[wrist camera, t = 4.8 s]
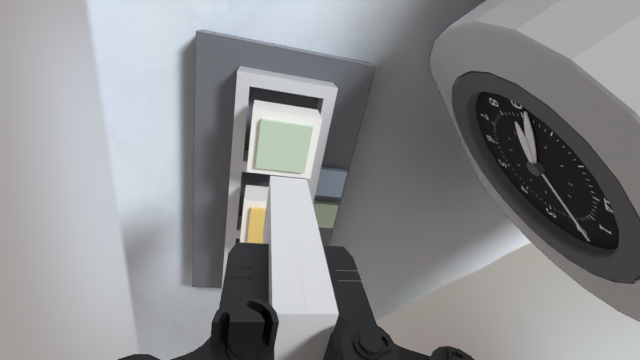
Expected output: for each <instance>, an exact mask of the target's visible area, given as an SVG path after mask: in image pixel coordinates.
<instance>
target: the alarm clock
mask: <svg viewBox="0 0 640 360" xmlns="http://www.w3.org/2000/svg"><path fill="white" fill-rule="evenodd" d="M430 70H431V74H432V76H433V78H434V80H435V83H436V85H437V87H438V89H439V92H440V94H441V96H442V98H443V101H444V103H445V105H446V107H447V110H448V112H449V114H450V116H451V119H452V121H453V123H454V125H455V128H456V130H457V132H458V134H459V137H460V139H461V141H462V143H463V146H464V148H465V150H466V153H467V155H468V157H469V159H470V162H471V164H472V166H473V168H474V171H475V173H476V175H477V177H478V180H479V181H480V183H481V184H482V185H483V187H484V188H485V190H486V191H487V192H488V194H489V195H490V196H491V197H492V199H493V200H494V201H495V202H496V203H497V205H498V206H499V207H500V208H501V210H502V211H503V212H504V213H505V214H506V216H507V217H508V218H509V219H510V220H511V221H512V222H513V223H514V224H515V225H516V227H517V228H518V229H519V230H520V231H521V232H522V233H523V234H524V235H525V236H526V237H527V238H528V239H529V241H531V242H532V243H533V244H534V245H535V246H536V247H537V248H538V249H539V250H540V251H541V252H542V253H543V254H544V255H545V256H547V257H548V258H549V259H550V260H551V261H552V262H553V263H554V264H555V265H556V266H557V267H559V268H560V269H561V270H562V271H564V272H565V273H566V274H567V275H568V276H570V277H571V278H572V279H573V280H575V281H576V282H577V283H578V284H580V285H581V286H582V287H583V288H584V289H586V290H587V291H589V292H590V293H592V294H593V295H595V296H596V297H598V298H599V299H601V300H602V301H604V302H605V303H607V304H608V305H610V306H611V307H613V308H614V309H616V310H617V311H619V312H621V313H623V314H625V315H627V316H629V317H631V318H633V319H635V320H637V321H639V322H640V0H486V1H484V2H483V3H482V4H480V5H479V6H477V7H476V8H474V9H473V10H471V11H470V12H469V13H467V14H466V15H464V16H463V17H461V18H460V19H459V20H457V21H456V22H454V23H453V24H451V25H450V26H449V27H448V28H447V29H446V30H445V31H444V32H443V33H442V34H441V35H440V36H439V37H438V38H437V39H436V40H435V42H434V46H433V49H432V53H431V56H430Z"/></svg>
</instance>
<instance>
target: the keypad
mask: <svg viewBox="0 0 640 360" xmlns="http://www.w3.org/2000/svg"><path fill="white" fill-rule="evenodd" d="M374 70H375V66H374V65H372V64H370V63H368V62H363V61H358V60H353V59H348V58H343V57H338V56H333V55H328V54H323V53H318V52H313V51H308V50H302V49H297V48H292V47H287V46H282V45H277V44H272V43H267V42H262V41H257V40H252V39H247V38H242V37H237V36H232V35H227V34H222V33H217V32H212V31H207V30H198V31H196V63H195V136H194V209H193V283H192V287H212V288H222V289H223V282H224V276H225V270H226V264H227V258H228V253H229V252H230V250H231V249H232V248H233V247H234V245H235V244H236V243H237V242H240V235H241V224H242V214H243V204H244V196H245V189H246V185H253V186H263V187H269V182H270V176H278V175H269V174H259V173H250V172H247V163H248V153H249V143H250V133H251V122H252V112H253V105H254V100H259V101H265V102H272V103H278V104H284V105H291V106H297V107H303V108H310V109H316V110H318V111H319V113H320V115H321V117H322V123H321V128H320V133H319V138H318V143H317V148H316V153H315V158H314V163H313V168H312V173H311V178H310V179H307V182H308V186H309V190H310V195H311V199H312V203H313V207H314V212H315V216H316V220H317V224H318V228H319V233H320V237H321V241H322V245H323V246H329V243H330V239H331V236H332V232H333V228H334V224H335V220H336V216H337V212H338V209H339V205H340V201H341V197H342V193H343V189H344V186H345V182H346V178H347V174H348V170H349V166H350V163H351V159H352V155H353V151H354V147H355V143H356V139H357V136H358V132H359V128H360V124H361V120H362V116H363V113H364V109H365V105H366V101H367V97H368V93H369V90H370V86H371V82H372V78H373V74H374ZM278 177H287V176H278ZM288 178H296V177H288ZM298 179H306V178H298Z"/></svg>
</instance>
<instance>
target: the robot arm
mask: <svg viewBox="0 0 640 360" xmlns="http://www.w3.org/2000/svg"><path fill="white" fill-rule="evenodd" d="M118 360H160V359H158V358H156V357H154V356H151V355H149V354H134V355H131V356H127V357H124V358H121V359H118ZM171 360H474V359H473V358H472V357H471V356H470V355H468V354H466V353H464V352H463V351H461V350H460V349H456V348H453V347H450V346H445V347H439V348H438V349H436V350H435V351H433V353H432V355H431V357H430V356H427V355H424V354H421V353H417V352H414V351H411V350H408V349H405V348H402V347H400V346H398V345H396V344H394V343H393V341H392V339H391V338H390V336H389V335H388V334H387V333H386V332H385V331H384V330H383V329H382V328H380V327H379V326H377V324H376V322H375V319H374V316H373V313H372V310H371V307H370V305H369V302H368V299H367V296H366V293H365V290H364V288H363V285H362V282H361V279H360V276H359V273H358V272H357V268H356V265H355V262H354V259H353V257H352V256H351V255H350V254H349V252H348V251H347V250H346V249H345V248H344V247H336V246H323V245H322V241H321V237H320V233H319V228H318V224H317V220H316V216H315V212H314V207H313V203H312V199H311V195H310V190H309V186H308V182H307V179H298V178H288V177H278V176H270V182H269V189H268V197H267V204H266V212H265V220H264V227H263V244H261V243H243V242H237V243H236V244H235V245H234V247H233V248H232V249H231V250H230V252H229V253H228V258H227V264H226V270H225V276H224V282H223V289H222V295H221V301H220V307H219V309H218V310H217V311H216V314H215V316H214V318H213V321H212V330H211V337H210V338H209V339H208V340H207V341H206V342H205V343H204V344H203V345H202V346H201V347H199V348H198V349H196V350H195V351H193V352H190V353H188V354H186V355H183V356H180V357H177V358H174V359H171Z"/></svg>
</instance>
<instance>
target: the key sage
mask: <svg viewBox="0 0 640 360" xmlns="http://www.w3.org/2000/svg"><path fill="white" fill-rule="evenodd" d="M321 123H322V117H321V115H320V113H319V111H318V110H316V109H310V108H303V107H297V106H291V105H284V104H278V103H272V102H265V101H259V100H254V105H253V112H252V122H251V133H250V143H249V153H248V163H247V172H250V173H259V174H269V175H278V176H287V177H296V178H306V179H310V178H311V173H312V168H313V163H314V158H315V153H316V148H317V143H318V138H319V133H320V128H321Z"/></svg>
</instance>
